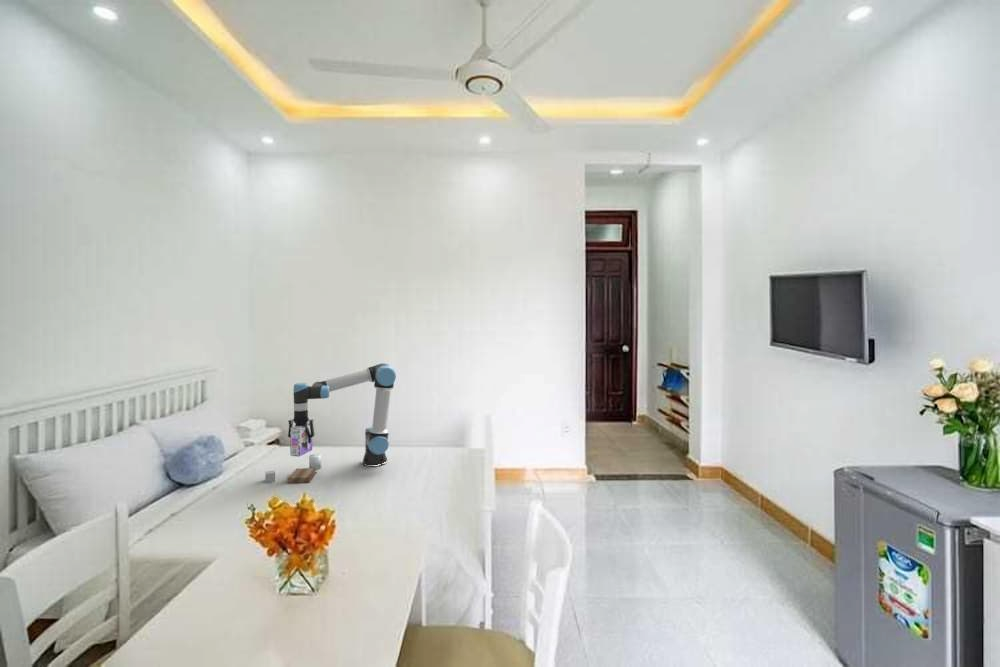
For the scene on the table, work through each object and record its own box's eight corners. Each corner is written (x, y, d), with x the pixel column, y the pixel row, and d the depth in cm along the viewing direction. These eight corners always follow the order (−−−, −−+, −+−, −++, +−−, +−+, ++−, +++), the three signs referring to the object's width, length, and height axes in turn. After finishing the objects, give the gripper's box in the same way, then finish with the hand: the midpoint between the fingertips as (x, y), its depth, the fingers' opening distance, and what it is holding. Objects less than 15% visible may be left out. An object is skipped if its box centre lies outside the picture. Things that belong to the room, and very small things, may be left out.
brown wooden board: (316, 472, 306) (316, 467, 306) (308, 482, 289) (308, 477, 289) (296, 473, 305) (296, 468, 305) (286, 483, 288) (286, 478, 288)
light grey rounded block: (322, 466, 318) (322, 453, 318) (319, 470, 311) (319, 457, 311) (311, 466, 318) (310, 454, 317) (307, 470, 311) (307, 457, 310)
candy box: (299, 457, 289) (298, 428, 288) (290, 456, 290) (289, 427, 289) (312, 450, 302) (312, 422, 301) (303, 449, 304) (303, 422, 302)
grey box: (274, 478, 296) (274, 470, 296) (275, 481, 292) (274, 473, 291) (265, 480, 294) (265, 471, 294) (265, 482, 289) (265, 474, 289)
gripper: (320, 408, 299) (320, 446, 301) (285, 408, 297) (286, 447, 299) (316, 411, 292) (317, 450, 293) (281, 411, 290) (281, 451, 291)
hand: (301, 448), depth 296 cm, fingers closed on candy box, 7 cm apart
